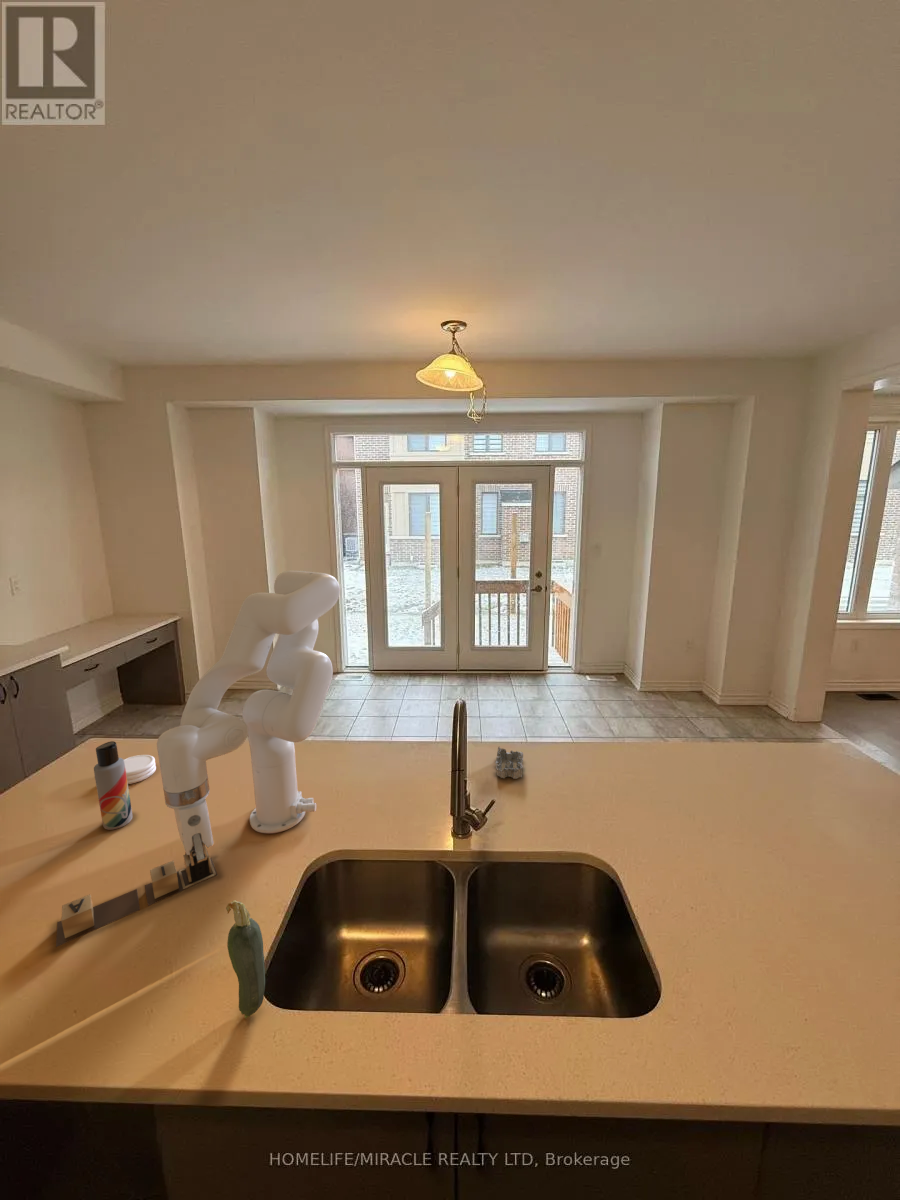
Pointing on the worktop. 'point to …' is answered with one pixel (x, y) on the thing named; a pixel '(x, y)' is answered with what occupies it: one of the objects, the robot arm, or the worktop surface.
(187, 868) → the tile
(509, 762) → the egg carton
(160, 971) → the worktop surface
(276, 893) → the worktop surface
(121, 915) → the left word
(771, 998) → the worktop surface
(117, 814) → the lotion bottle
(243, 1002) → the vegetable
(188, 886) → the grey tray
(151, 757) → the coaster
